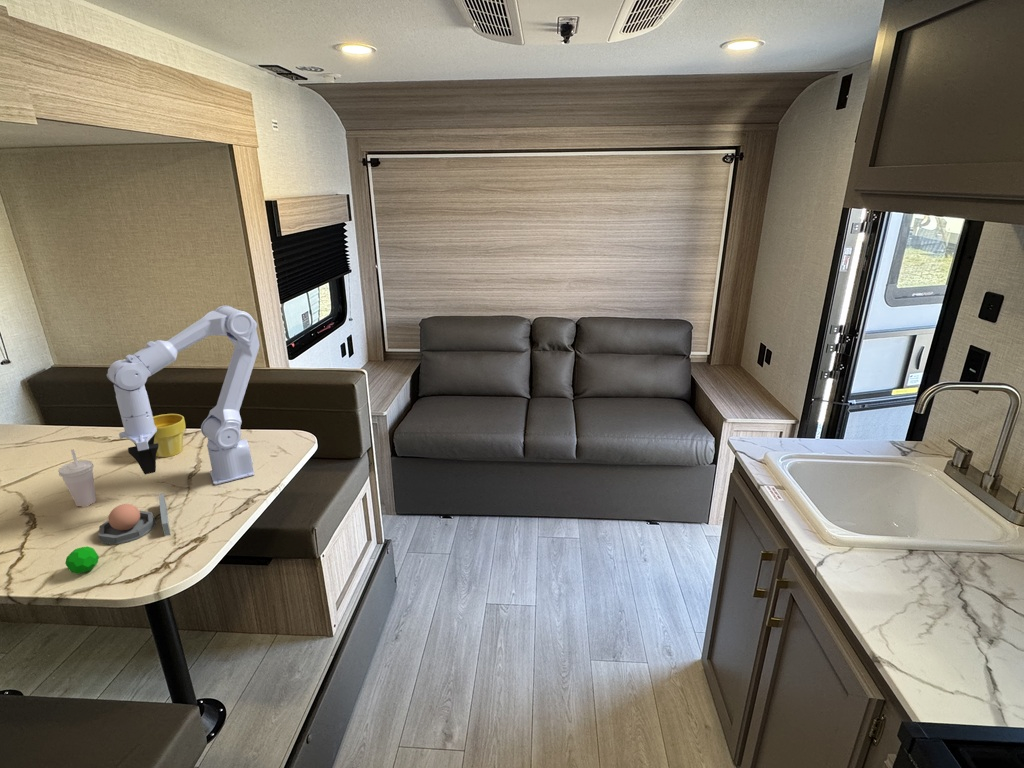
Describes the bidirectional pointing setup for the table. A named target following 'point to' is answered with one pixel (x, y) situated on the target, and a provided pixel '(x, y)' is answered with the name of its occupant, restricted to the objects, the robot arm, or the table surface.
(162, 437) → the plant pot
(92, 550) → the polyhedron
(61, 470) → the smoothie
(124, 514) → the ball
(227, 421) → the robot arm
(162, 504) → the low wall
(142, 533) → the gray octagonal bowl
